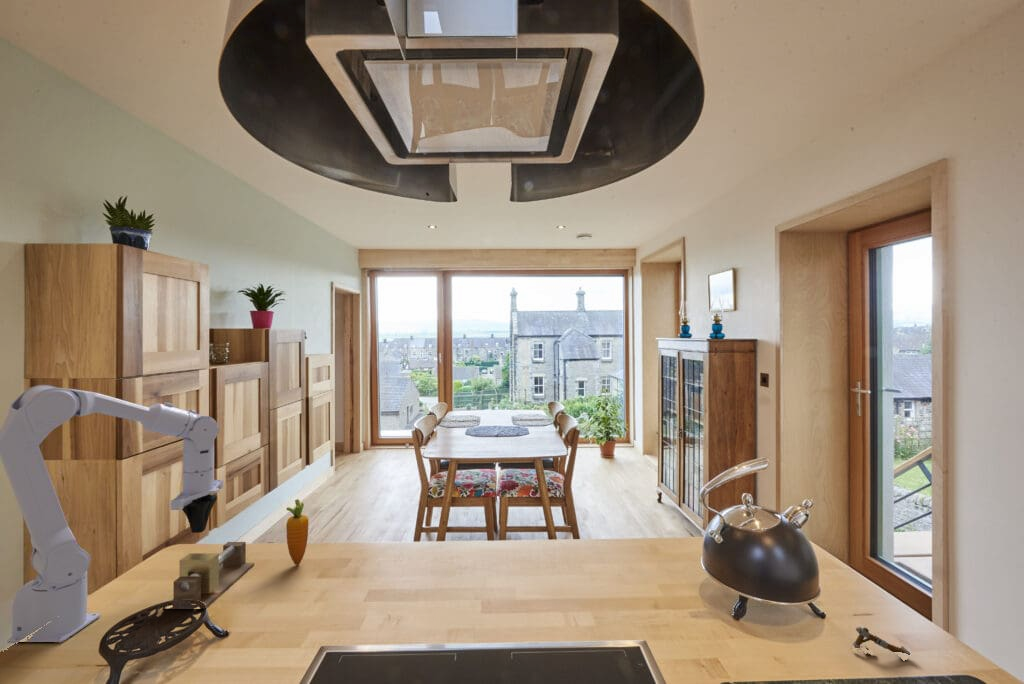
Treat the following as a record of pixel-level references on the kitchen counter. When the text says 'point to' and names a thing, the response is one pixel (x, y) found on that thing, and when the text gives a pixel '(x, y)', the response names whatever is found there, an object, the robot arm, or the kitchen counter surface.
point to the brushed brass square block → (202, 569)
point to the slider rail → (227, 577)
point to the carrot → (297, 533)
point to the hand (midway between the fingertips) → (198, 531)
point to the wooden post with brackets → (876, 641)
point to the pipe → (222, 557)
